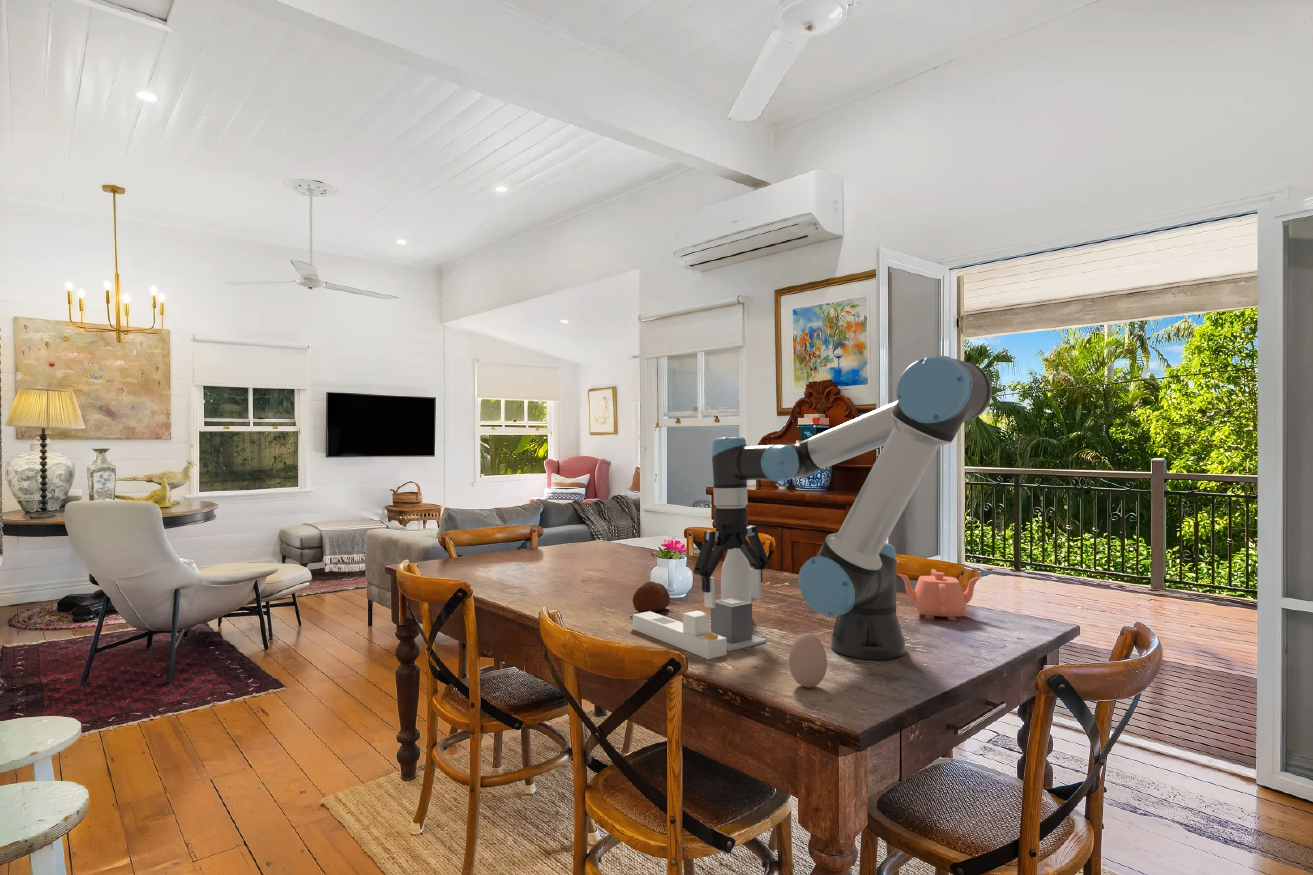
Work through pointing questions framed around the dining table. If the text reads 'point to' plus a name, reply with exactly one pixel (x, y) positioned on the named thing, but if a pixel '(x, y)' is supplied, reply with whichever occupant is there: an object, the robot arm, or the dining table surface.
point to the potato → (651, 597)
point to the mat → (746, 643)
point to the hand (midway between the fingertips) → (733, 602)
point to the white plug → (695, 623)
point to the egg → (808, 660)
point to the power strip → (679, 635)
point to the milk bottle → (736, 576)
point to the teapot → (939, 595)
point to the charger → (732, 619)
